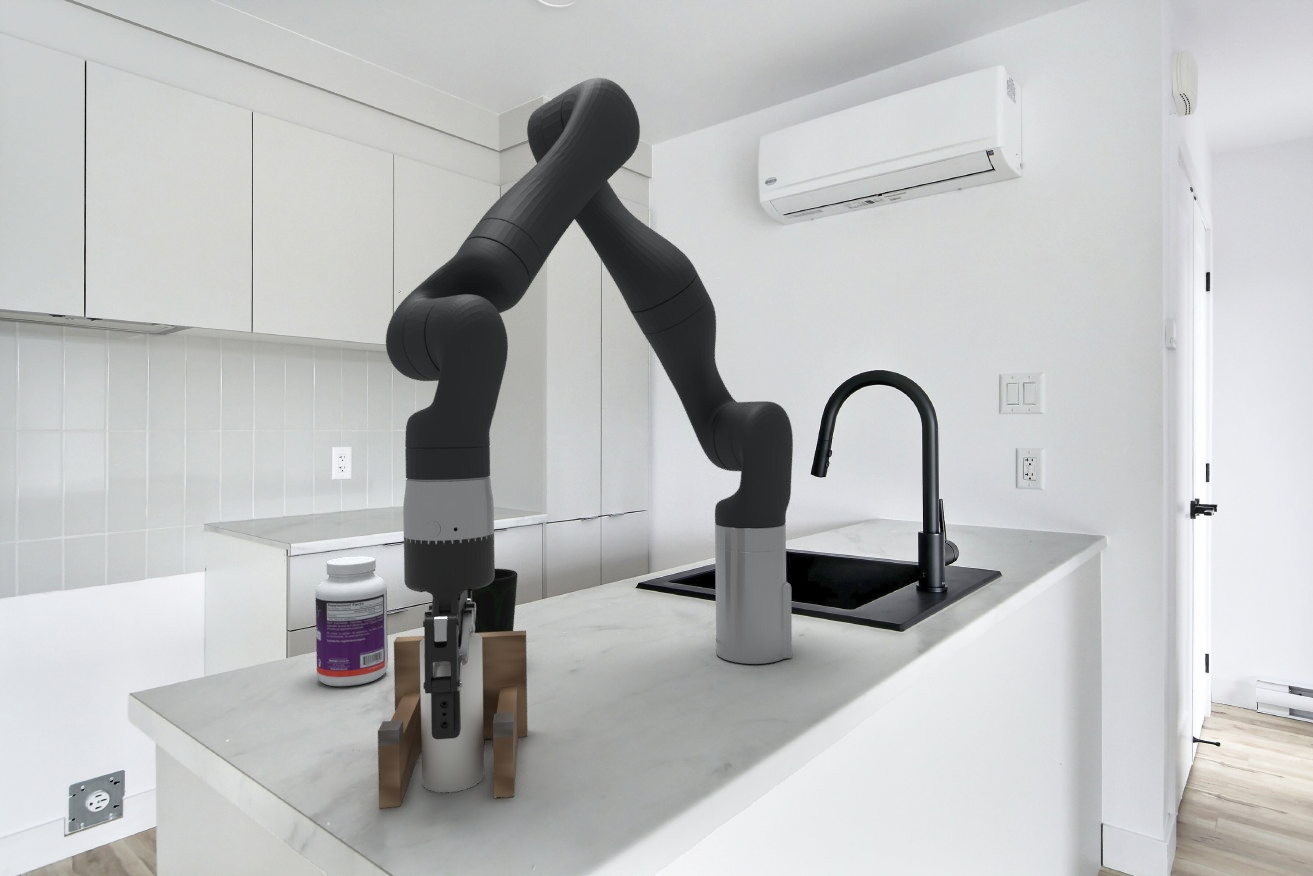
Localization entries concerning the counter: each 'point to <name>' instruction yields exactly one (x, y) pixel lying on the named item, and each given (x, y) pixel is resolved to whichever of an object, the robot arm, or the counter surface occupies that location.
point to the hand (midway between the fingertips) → (452, 717)
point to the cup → (496, 603)
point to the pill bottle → (351, 623)
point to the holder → (499, 713)
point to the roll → (463, 756)
